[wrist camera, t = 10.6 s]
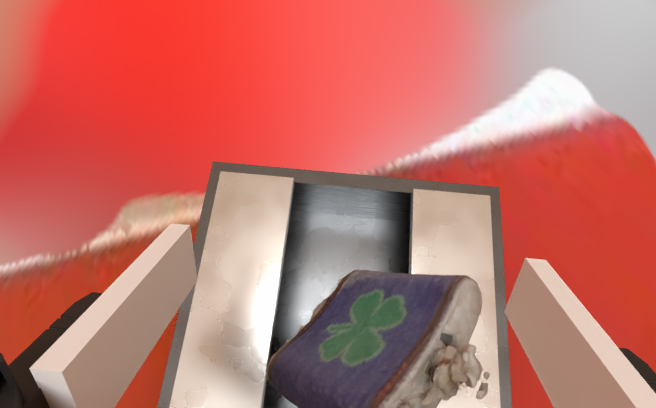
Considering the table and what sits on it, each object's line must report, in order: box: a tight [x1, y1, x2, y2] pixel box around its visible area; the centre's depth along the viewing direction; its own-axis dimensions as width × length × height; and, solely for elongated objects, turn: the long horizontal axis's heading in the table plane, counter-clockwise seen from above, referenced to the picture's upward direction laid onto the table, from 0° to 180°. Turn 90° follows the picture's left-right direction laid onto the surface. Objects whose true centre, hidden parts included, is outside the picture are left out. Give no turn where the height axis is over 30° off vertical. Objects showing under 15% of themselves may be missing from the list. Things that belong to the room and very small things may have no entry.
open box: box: [157, 162, 512, 408], centre depth 24 cm, size 20×20×9 cm
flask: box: [265, 270, 490, 408], centre depth 17 cm, size 9×3×11 cm
